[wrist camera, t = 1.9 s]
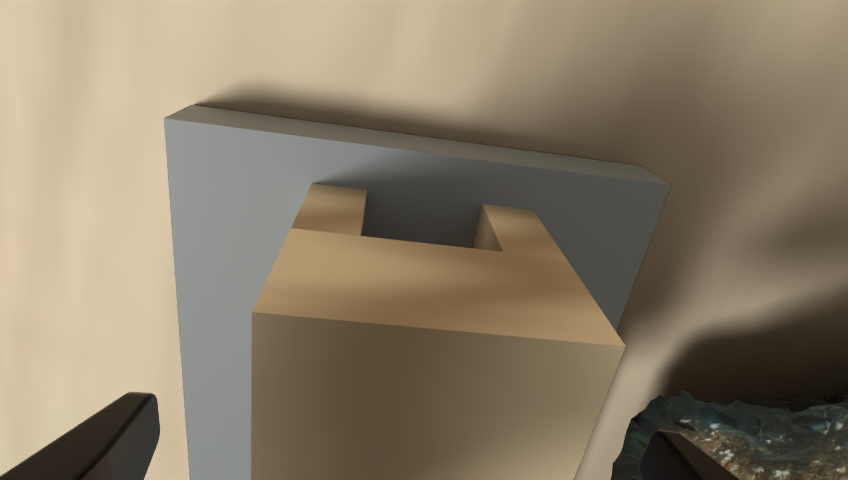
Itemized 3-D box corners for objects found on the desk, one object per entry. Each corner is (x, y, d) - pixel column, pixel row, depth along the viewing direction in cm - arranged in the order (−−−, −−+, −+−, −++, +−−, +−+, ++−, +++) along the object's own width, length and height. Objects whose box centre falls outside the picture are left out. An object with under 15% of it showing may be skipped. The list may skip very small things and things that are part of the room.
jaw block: (533, 210, 11) (626, 346, 7) (481, 408, 14) (524, 604, 9) (311, 183, 11) (251, 312, 6) (299, 395, 13) (251, 597, 9)
